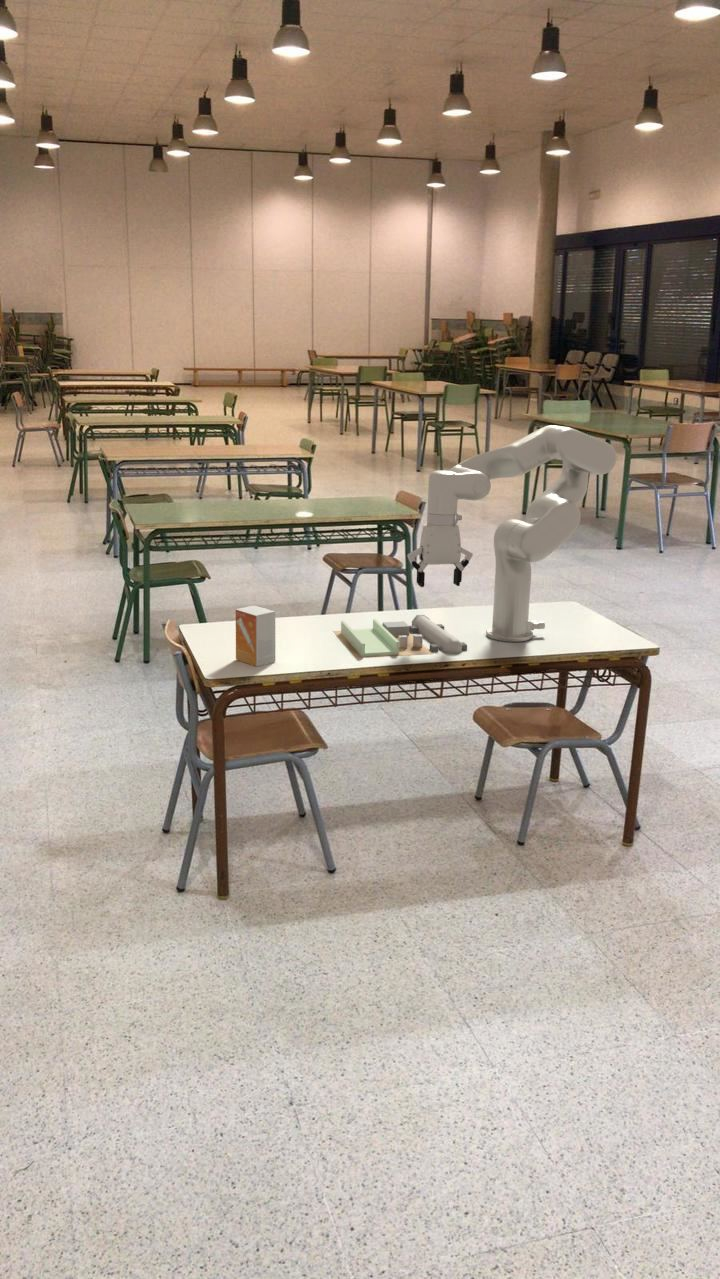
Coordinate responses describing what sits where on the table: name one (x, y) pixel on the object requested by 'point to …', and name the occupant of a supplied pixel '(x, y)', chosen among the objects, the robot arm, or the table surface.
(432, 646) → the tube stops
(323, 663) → the table surface
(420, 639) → the bench dogs
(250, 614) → the small box
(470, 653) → the table surface
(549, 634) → the table surface
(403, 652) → the board
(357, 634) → the tray
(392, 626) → the grey faceted block
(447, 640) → the tube
